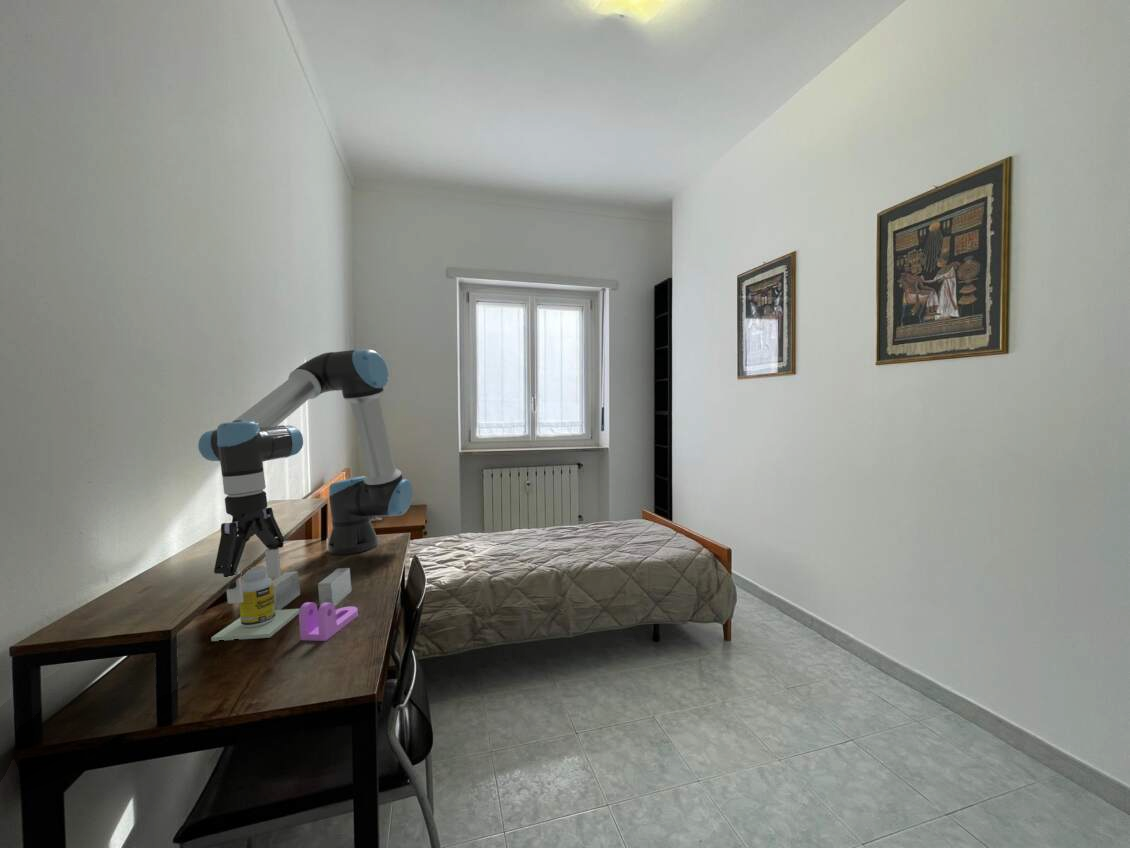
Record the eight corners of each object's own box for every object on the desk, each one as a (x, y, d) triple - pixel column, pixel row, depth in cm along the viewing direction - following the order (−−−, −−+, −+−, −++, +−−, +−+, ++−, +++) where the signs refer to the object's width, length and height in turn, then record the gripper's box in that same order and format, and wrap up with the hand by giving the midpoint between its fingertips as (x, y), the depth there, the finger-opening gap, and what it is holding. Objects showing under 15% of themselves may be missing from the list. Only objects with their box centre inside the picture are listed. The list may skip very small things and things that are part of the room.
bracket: (325, 641, 98) (322, 607, 97) (301, 640, 99) (297, 607, 98) (363, 612, 111) (360, 582, 110) (340, 612, 112) (338, 582, 111)
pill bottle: (251, 631, 102) (246, 576, 102) (235, 625, 106) (229, 572, 105) (282, 618, 108) (277, 566, 107) (265, 613, 111) (261, 563, 111)
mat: (248, 615, 113) (248, 611, 113) (300, 611, 113) (300, 608, 113) (211, 641, 101) (211, 637, 101) (269, 637, 101) (269, 633, 101)
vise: (268, 596, 124) (265, 573, 123) (351, 591, 124) (349, 567, 123) (242, 613, 114) (239, 588, 113) (333, 608, 114) (330, 582, 113)
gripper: (263, 483, 117) (272, 569, 119) (183, 508, 93) (196, 616, 94) (294, 480, 117) (303, 567, 119) (222, 505, 93) (235, 614, 94)
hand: (256, 589), depth 107 cm, fingers open, 13 cm apart
